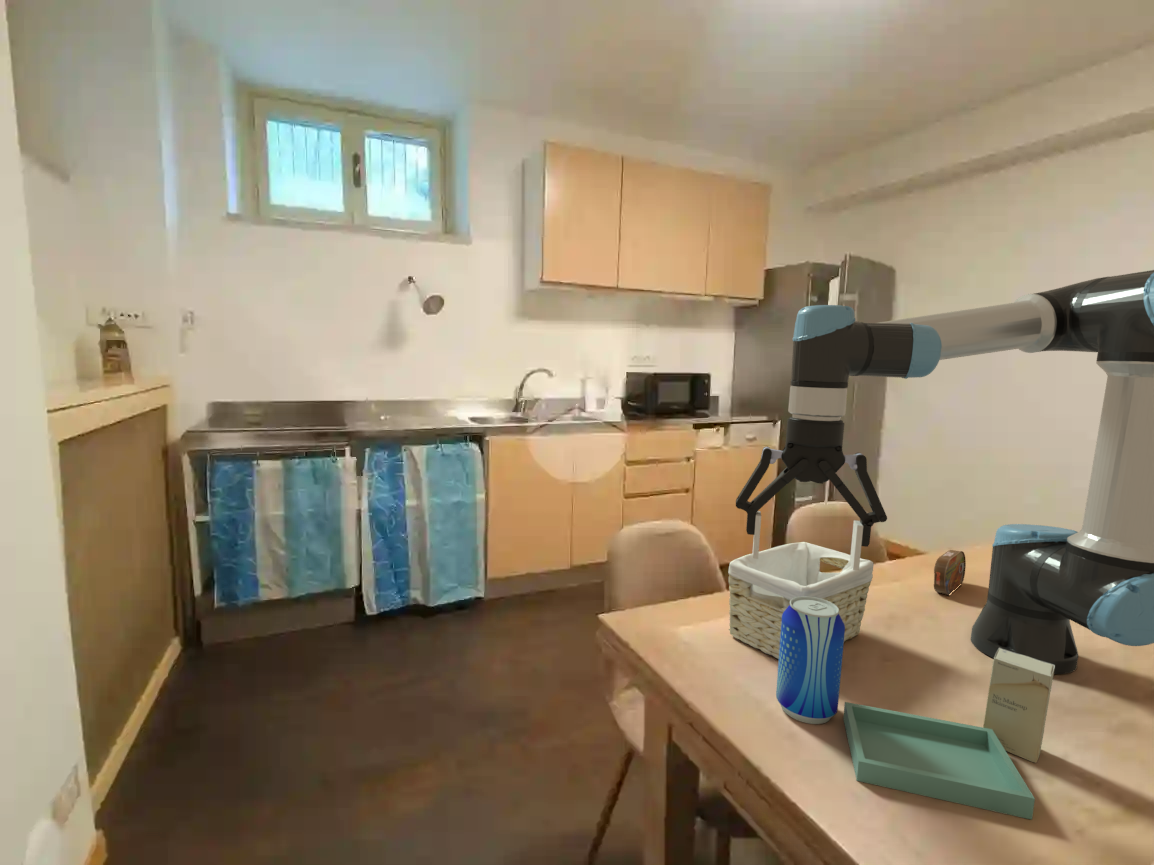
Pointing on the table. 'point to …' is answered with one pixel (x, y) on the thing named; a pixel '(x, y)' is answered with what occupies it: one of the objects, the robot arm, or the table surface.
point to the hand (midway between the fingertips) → (803, 561)
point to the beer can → (810, 660)
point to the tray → (935, 759)
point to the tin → (949, 571)
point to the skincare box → (1019, 702)
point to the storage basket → (792, 590)
